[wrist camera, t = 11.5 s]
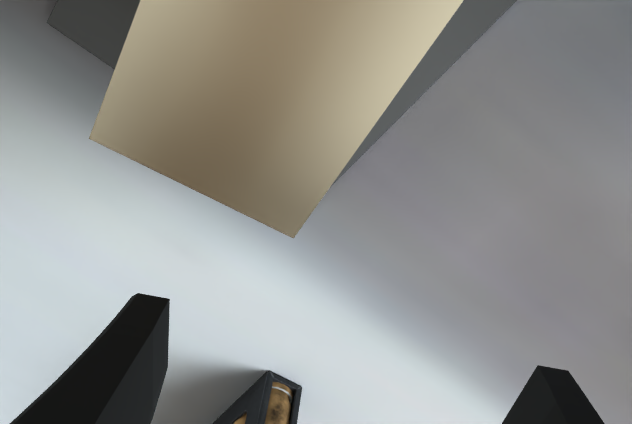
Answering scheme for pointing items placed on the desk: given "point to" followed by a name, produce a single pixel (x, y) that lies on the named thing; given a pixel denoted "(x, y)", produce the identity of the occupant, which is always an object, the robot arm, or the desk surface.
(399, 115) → the rubber mat
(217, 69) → the maple block
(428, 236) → the desk surface
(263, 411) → the ammunition clip
